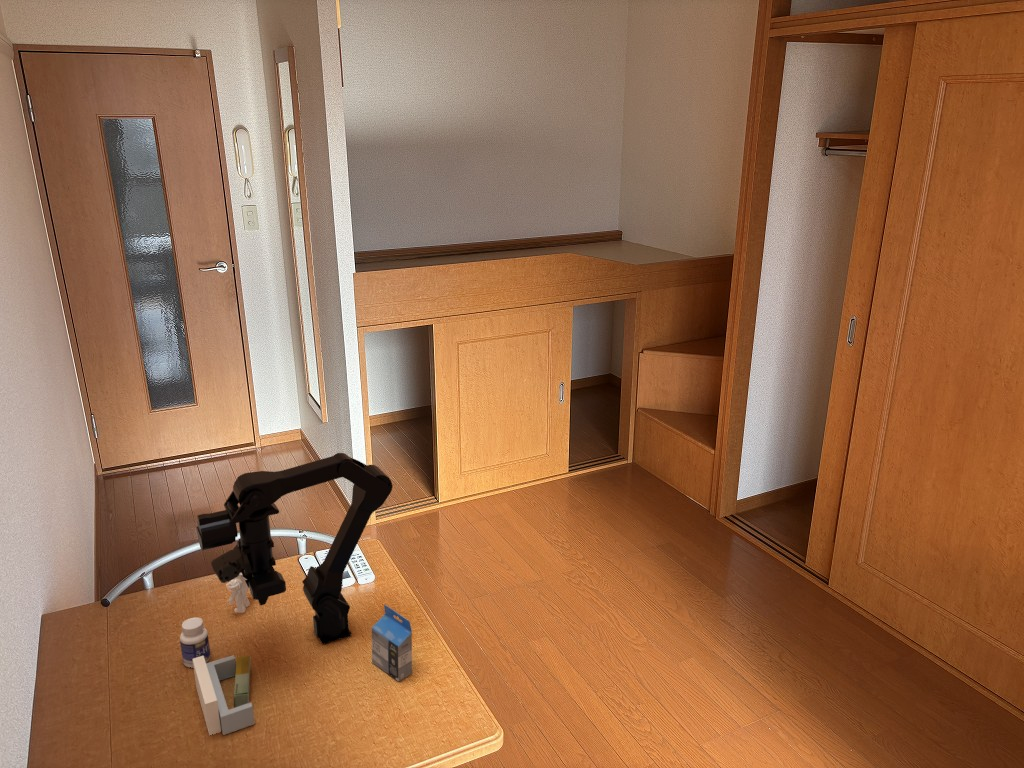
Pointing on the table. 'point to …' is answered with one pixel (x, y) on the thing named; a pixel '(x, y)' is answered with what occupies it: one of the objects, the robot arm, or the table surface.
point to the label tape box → (392, 645)
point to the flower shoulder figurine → (239, 593)
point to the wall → (206, 695)
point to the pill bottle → (194, 641)
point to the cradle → (228, 718)
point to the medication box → (242, 681)
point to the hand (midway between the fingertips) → (262, 604)
